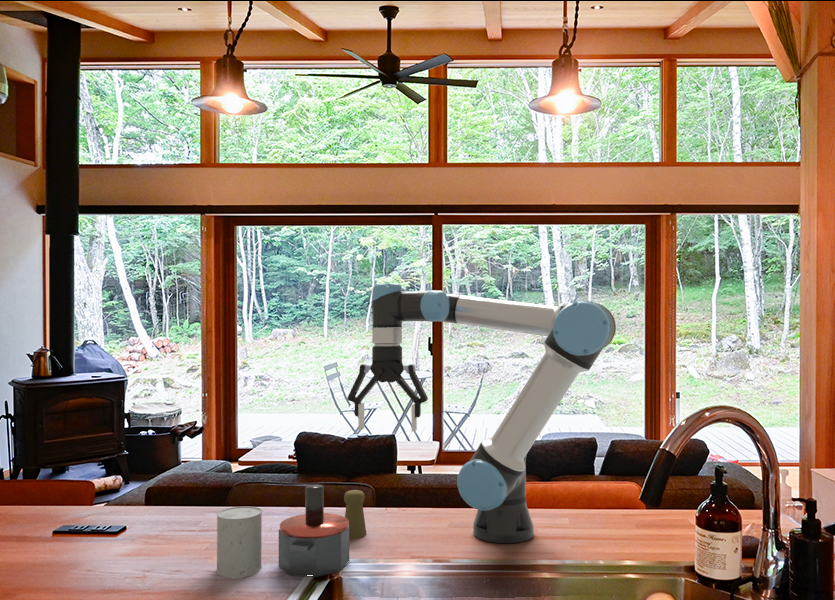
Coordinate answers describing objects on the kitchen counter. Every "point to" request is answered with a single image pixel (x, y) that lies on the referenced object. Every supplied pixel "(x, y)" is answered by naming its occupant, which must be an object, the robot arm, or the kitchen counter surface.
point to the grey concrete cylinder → (239, 541)
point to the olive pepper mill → (355, 513)
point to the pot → (313, 554)
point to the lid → (314, 518)
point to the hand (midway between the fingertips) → (387, 430)
